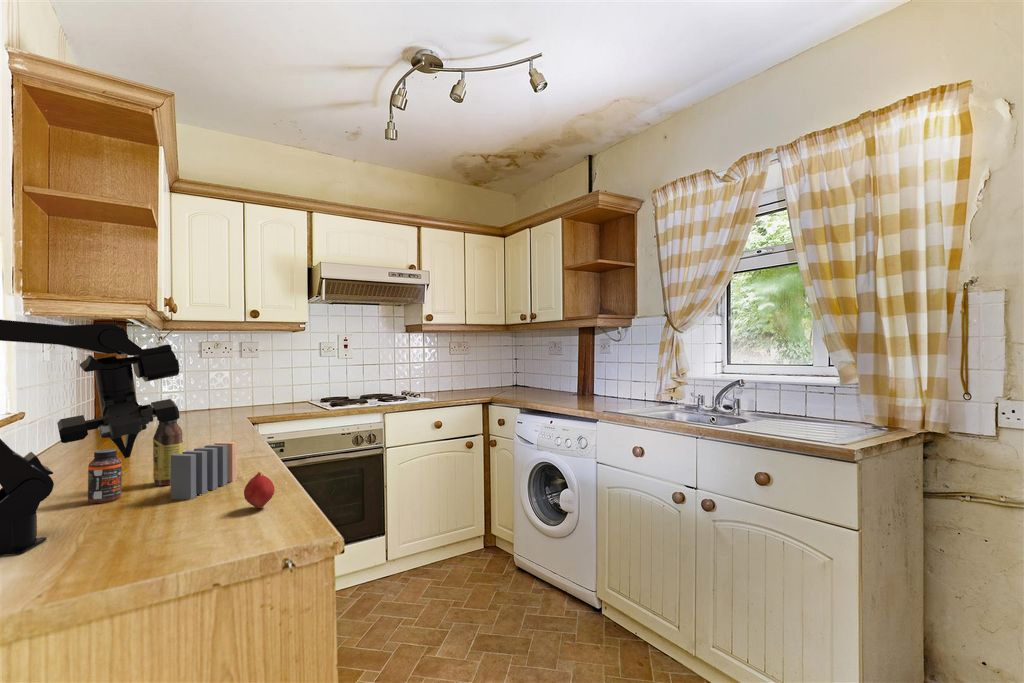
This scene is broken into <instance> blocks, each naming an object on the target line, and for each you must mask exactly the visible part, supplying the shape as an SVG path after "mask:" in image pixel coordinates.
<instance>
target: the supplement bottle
mask: <svg viewBox="0 0 1024 683" xmlns="http://www.w3.org/2000/svg"><path fill="white" fill-rule="evenodd" d="M117 452H118V451H117V449H115V448H104V449H99V450H95V451H94V453H93V460H92V461H90V462H89V464H88V469H87V501H88V503H91V504H103V503H102V502H105V503H110V502H113V500H114V501H116V500H119V499H120V498H121V497H122V489H123V487H122V479H123V478H122V476H123V475H122V474H123V473H122V472H123V471H122V470H123V468H122V467H123V465H122V463H123V461H122V460H121V458H119V457H118V456H117V455H118V453H117ZM109 501H110V502H109Z"/></svg>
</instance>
